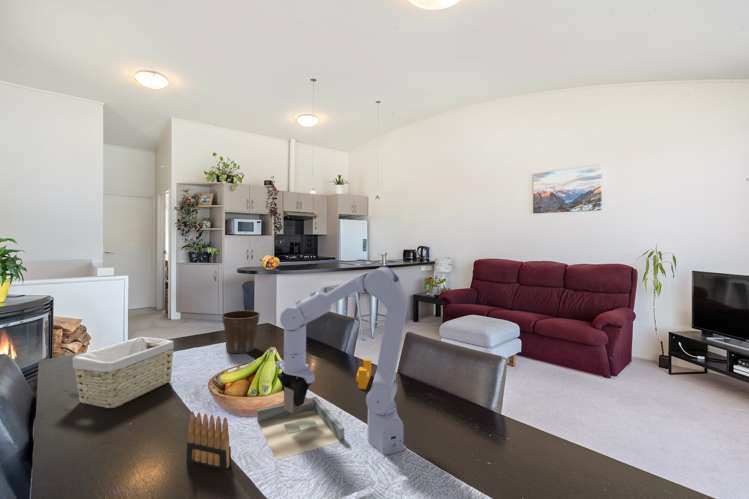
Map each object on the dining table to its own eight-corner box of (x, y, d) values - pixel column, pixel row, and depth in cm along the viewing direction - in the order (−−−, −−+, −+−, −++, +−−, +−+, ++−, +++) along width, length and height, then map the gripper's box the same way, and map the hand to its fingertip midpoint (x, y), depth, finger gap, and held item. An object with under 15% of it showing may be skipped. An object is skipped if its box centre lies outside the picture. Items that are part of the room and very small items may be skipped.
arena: (344, 443, 92) (344, 428, 92) (276, 463, 84) (276, 446, 84) (315, 410, 110) (316, 396, 110) (257, 423, 101) (257, 409, 101)
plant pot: (267, 348, 168) (268, 313, 167) (237, 358, 154) (237, 320, 153) (244, 342, 176) (244, 308, 176) (213, 351, 163) (213, 314, 162)
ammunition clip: (231, 468, 82) (231, 415, 81) (226, 474, 80) (225, 419, 80) (192, 459, 85) (192, 408, 84) (186, 464, 83) (185, 412, 83)
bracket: (292, 413, 95) (293, 390, 95) (283, 408, 98) (284, 386, 98) (314, 405, 101) (314, 383, 100) (304, 401, 103) (305, 379, 103)
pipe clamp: (359, 375, 138) (359, 358, 137) (371, 376, 137) (371, 359, 137) (353, 388, 126) (353, 370, 125) (365, 389, 125) (366, 370, 125)
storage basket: (109, 412, 106) (109, 362, 106) (69, 404, 111) (69, 356, 111) (176, 381, 129) (176, 340, 129) (141, 375, 134) (140, 335, 133)
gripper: (324, 354, 95) (323, 405, 96) (291, 342, 105) (291, 389, 106) (301, 360, 90) (301, 415, 91) (269, 347, 100) (269, 396, 101)
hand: (294, 401), depth 98 cm, fingers closed on bracket, 4 cm apart
